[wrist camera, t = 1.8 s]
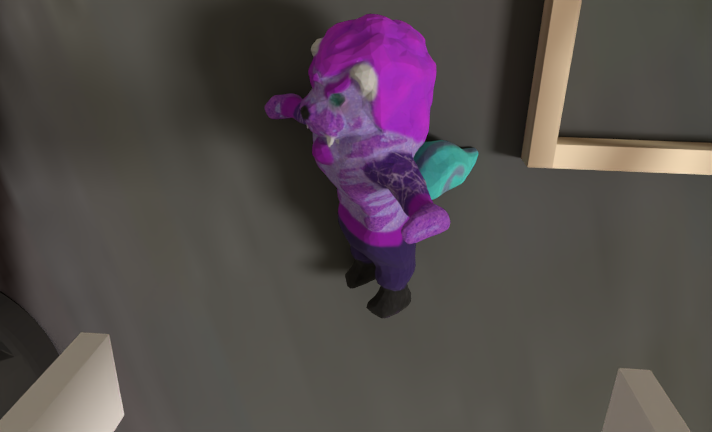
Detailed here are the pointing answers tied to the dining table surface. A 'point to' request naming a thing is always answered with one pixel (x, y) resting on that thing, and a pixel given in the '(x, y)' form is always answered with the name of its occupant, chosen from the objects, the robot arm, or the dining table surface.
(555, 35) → the pocket frame
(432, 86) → the toy
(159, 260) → the dining table surface
